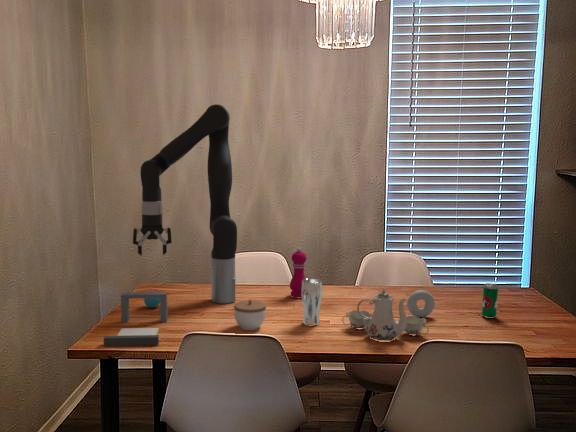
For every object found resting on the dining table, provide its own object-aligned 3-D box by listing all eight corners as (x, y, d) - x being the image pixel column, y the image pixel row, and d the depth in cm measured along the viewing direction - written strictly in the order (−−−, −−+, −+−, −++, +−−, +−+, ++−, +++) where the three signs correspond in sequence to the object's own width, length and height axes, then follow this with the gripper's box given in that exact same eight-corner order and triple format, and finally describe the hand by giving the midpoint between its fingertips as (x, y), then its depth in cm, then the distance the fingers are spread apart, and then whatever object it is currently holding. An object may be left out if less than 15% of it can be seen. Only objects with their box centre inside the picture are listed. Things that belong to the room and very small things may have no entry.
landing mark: (159, 328, 180) (159, 327, 180) (153, 341, 169) (153, 340, 169) (121, 329, 179) (121, 328, 179) (113, 341, 168) (113, 341, 168)
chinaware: (427, 336, 181) (429, 286, 181) (429, 348, 165) (431, 294, 165) (343, 328, 188) (345, 280, 187) (337, 340, 171) (339, 287, 171)
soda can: (497, 319, 194) (499, 286, 192) (482, 318, 195) (484, 286, 193) (495, 315, 199) (497, 283, 197) (480, 314, 200) (482, 282, 198)
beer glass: (323, 321, 190) (324, 279, 188) (318, 327, 183) (319, 284, 181) (304, 319, 192) (305, 277, 190) (298, 325, 185) (299, 282, 183)
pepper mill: (305, 299, 217) (306, 249, 214) (287, 298, 218) (288, 248, 216) (308, 294, 224) (309, 246, 221) (291, 293, 225) (292, 245, 223)
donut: (432, 315, 198) (433, 288, 196) (435, 318, 194) (436, 291, 193) (405, 315, 197) (406, 288, 196) (407, 318, 194) (409, 291, 192)
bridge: (123, 319, 189) (122, 292, 188) (167, 319, 190) (167, 292, 189) (121, 322, 186) (120, 294, 185) (166, 322, 187) (165, 294, 186)
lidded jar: (254, 334, 176) (254, 306, 174) (227, 329, 181) (227, 301, 180) (271, 325, 185) (272, 298, 184) (245, 320, 190) (245, 294, 189)
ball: (161, 304, 207) (161, 289, 206) (159, 309, 201) (159, 293, 200) (145, 305, 206) (145, 289, 206) (142, 309, 200) (142, 294, 200)
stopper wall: (158, 342, 167) (158, 335, 167) (157, 345, 165) (157, 337, 165) (105, 343, 166) (105, 335, 166) (103, 346, 164) (103, 338, 164)
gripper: (132, 214, 201) (133, 257, 203) (171, 213, 205) (172, 256, 207) (132, 211, 208) (132, 253, 211) (170, 211, 213) (170, 252, 215)
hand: (152, 254), depth 209 cm, fingers open, 8 cm apart
